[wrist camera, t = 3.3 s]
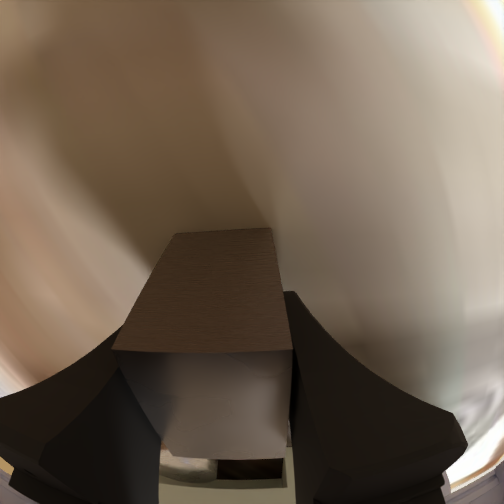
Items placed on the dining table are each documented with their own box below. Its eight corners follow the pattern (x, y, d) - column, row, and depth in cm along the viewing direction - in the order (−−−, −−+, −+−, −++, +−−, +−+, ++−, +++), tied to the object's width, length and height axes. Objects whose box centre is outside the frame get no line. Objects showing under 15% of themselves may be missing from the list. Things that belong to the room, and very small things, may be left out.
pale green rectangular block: (301, 444, 17) (312, 533, 11) (294, 480, 22) (299, 543, 15) (96, 432, 18) (74, 505, 11) (136, 473, 22) (125, 529, 15)
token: (212, 436, 17) (210, 464, 15) (222, 461, 19) (221, 484, 17) (146, 430, 17) (140, 457, 15) (165, 456, 19) (161, 479, 17)
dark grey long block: (270, 227, 10) (293, 349, 5) (274, 440, 17) (278, 514, 12) (175, 233, 10) (111, 349, 5) (224, 441, 17) (220, 515, 12)
